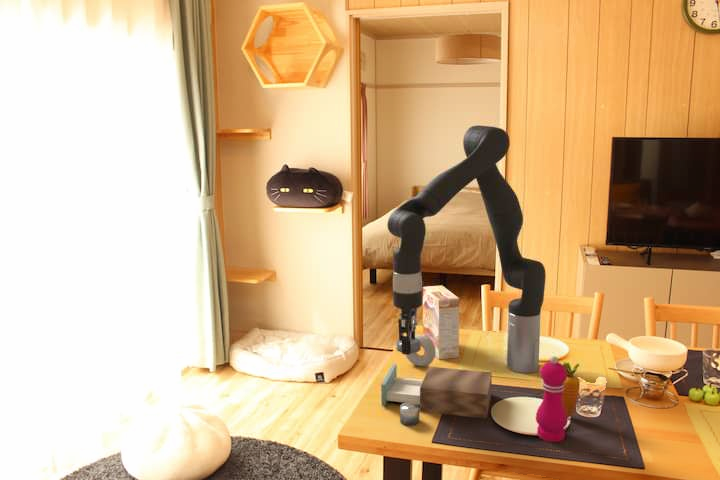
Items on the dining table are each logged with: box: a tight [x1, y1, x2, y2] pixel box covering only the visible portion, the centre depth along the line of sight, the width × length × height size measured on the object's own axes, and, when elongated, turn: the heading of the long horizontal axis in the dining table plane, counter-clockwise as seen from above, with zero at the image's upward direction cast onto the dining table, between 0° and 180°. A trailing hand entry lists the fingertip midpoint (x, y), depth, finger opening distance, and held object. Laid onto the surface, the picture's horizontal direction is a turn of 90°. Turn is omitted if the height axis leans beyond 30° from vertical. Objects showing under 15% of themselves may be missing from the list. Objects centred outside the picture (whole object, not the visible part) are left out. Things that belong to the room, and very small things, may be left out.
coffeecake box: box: [422, 284, 460, 360], centre depth 207 cm, size 15×7×20 cm, turn 14°
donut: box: [404, 333, 436, 367], centre depth 196 cm, size 10×4×10 cm, turn 61°
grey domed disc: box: [395, 338, 422, 353], centre depth 170 cm, size 6×6×2 cm
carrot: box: [561, 361, 581, 418], centre depth 161 cm, size 5×5×15 cm
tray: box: [380, 363, 424, 407], centre depth 174 cm, size 17×14×6 cm
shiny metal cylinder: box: [399, 402, 420, 427], centre depth 162 cm, size 5×5×4 cm
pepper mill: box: [535, 356, 569, 443], centre depth 153 cm, size 7×7×20 cm
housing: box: [419, 366, 493, 419], centre depth 172 cm, size 17×14×6 cm
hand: (408, 348), depth 171 cm, fingers closed on grey domed disc, 6 cm apart
